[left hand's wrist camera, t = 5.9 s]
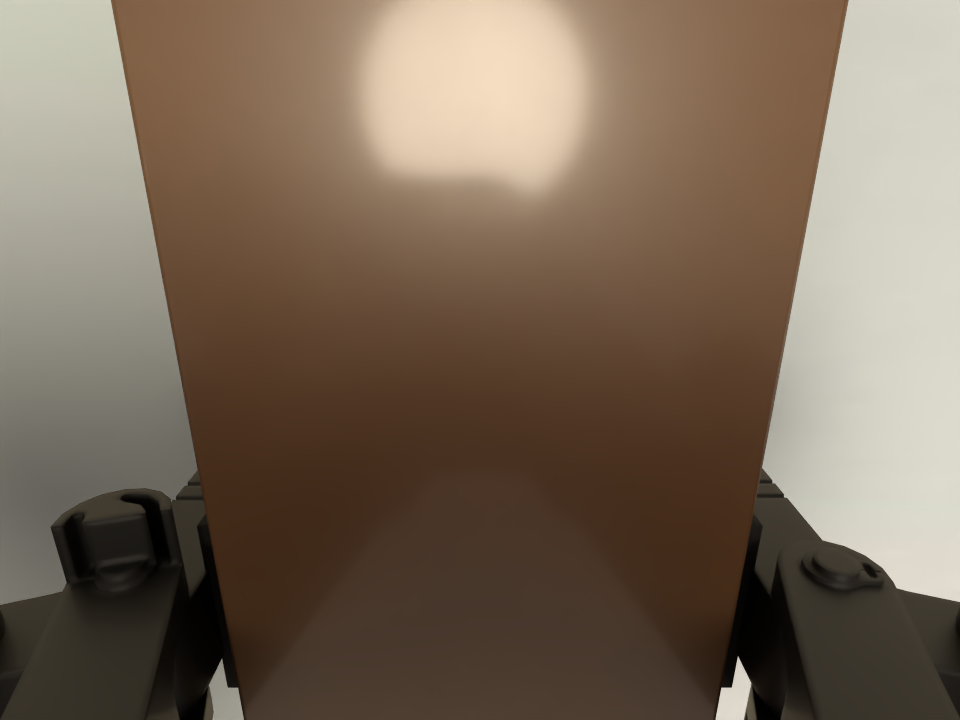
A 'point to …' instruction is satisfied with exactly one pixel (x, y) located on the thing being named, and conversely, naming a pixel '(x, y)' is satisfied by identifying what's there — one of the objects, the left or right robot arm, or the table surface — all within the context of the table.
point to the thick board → (479, 333)
